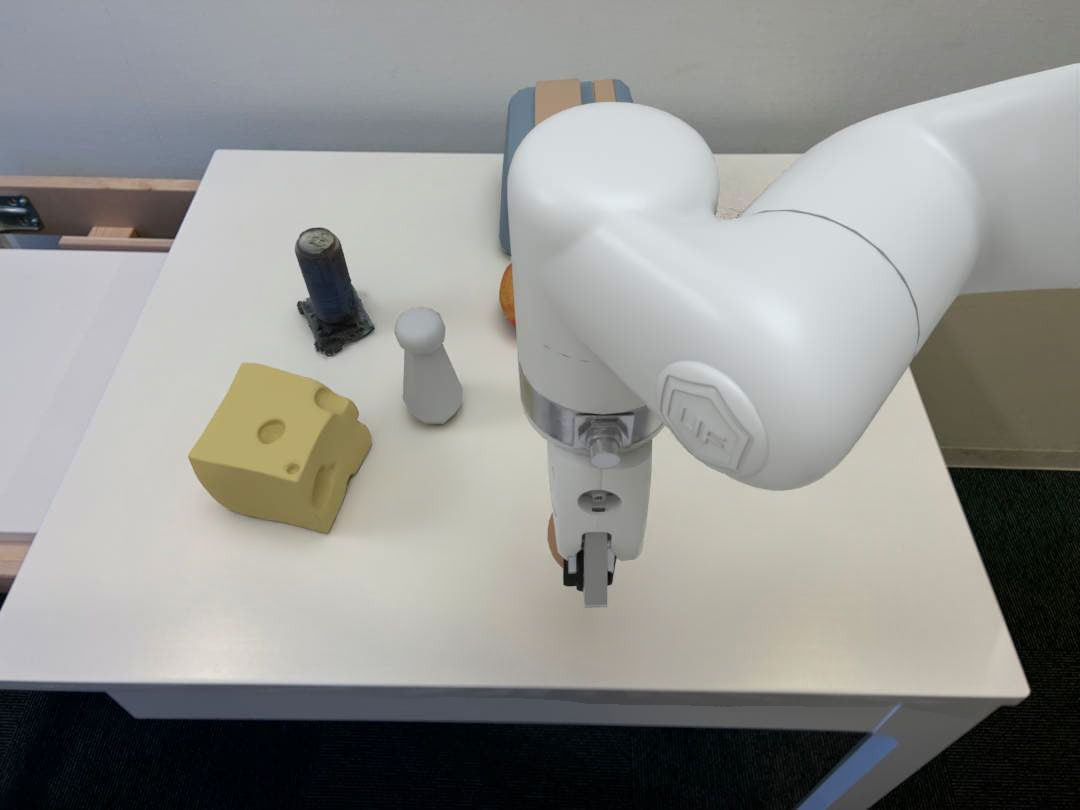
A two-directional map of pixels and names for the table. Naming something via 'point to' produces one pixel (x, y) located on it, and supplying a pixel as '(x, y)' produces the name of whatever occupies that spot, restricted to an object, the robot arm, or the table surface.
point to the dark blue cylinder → (329, 291)
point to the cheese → (281, 448)
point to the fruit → (507, 295)
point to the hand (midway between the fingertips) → (585, 539)
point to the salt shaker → (427, 367)
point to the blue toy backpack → (537, 107)
